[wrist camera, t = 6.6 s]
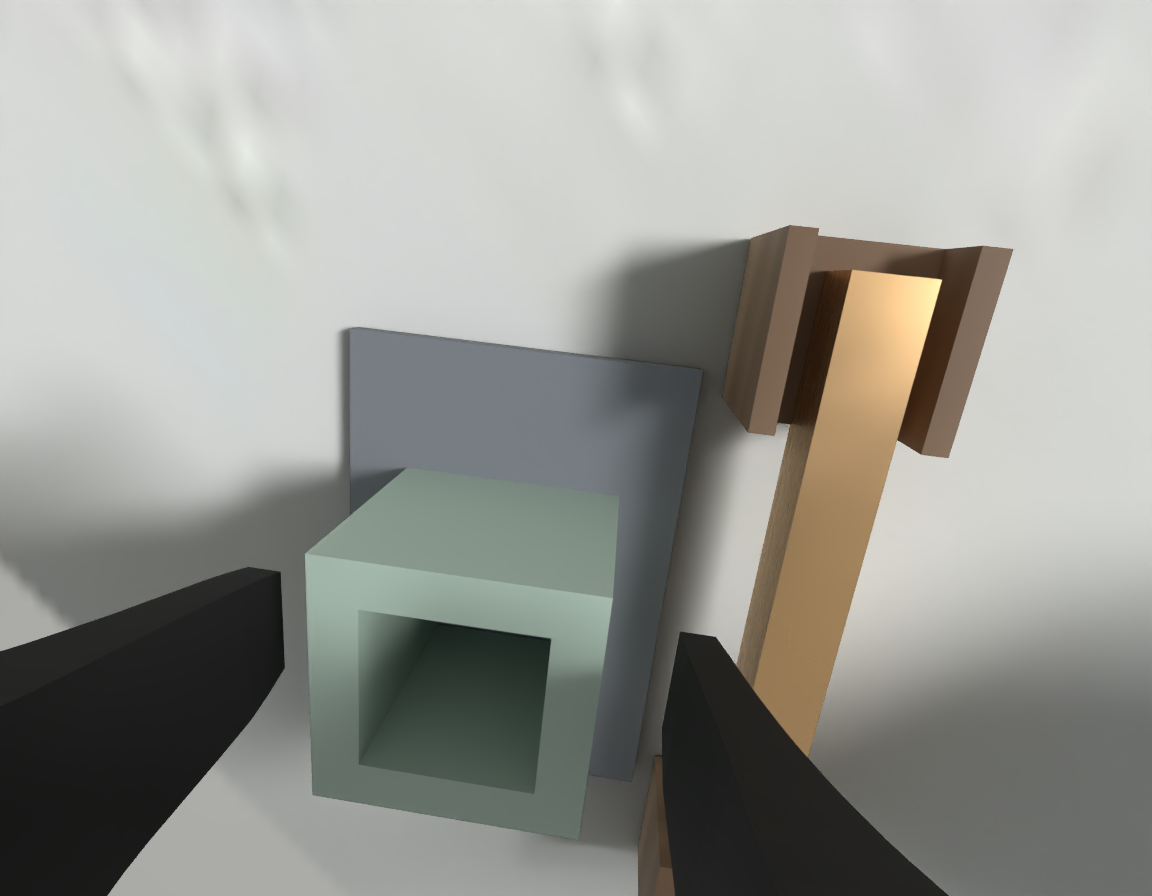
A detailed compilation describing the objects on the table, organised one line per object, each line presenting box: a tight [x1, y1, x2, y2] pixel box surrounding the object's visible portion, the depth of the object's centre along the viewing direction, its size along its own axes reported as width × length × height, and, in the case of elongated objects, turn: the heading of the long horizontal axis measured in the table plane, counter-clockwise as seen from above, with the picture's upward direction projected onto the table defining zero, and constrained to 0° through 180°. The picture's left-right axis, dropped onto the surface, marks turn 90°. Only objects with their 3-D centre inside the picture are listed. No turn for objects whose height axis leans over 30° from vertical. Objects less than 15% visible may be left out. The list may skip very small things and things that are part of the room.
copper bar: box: [736, 270, 942, 757], centre depth 11 cm, size 1×14×1 cm, turn 174°
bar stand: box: [638, 225, 1013, 896], centre depth 11 cm, size 3×15×3 cm, turn 174°
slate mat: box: [349, 327, 703, 782], centre depth 13 cm, size 7×10×1 cm
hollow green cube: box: [305, 468, 619, 840], centre depth 11 cm, size 4×4×4 cm
